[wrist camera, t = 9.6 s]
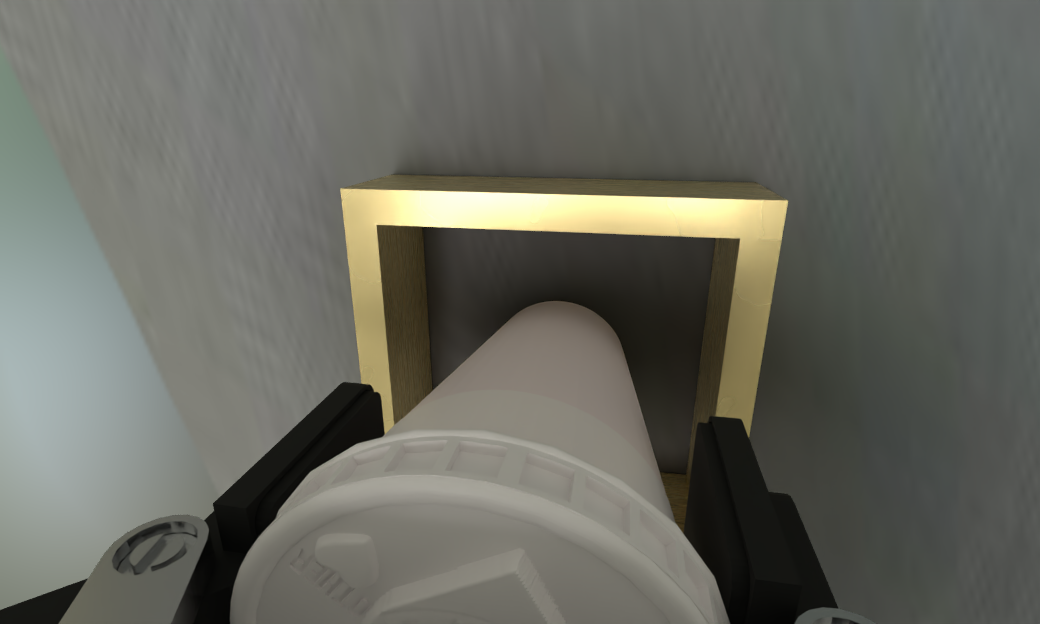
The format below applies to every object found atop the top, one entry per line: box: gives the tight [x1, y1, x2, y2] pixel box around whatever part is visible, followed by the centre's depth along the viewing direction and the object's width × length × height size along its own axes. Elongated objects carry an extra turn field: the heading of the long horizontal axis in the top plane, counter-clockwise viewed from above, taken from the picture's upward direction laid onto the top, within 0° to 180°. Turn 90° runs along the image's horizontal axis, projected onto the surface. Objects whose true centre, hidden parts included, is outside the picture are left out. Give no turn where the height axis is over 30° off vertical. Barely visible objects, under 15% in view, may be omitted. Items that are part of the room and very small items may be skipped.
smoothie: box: [230, 301, 730, 624], centre depth 9 cm, size 6×6×14 cm
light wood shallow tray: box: [340, 175, 788, 532], centre depth 15 cm, size 10×10×3 cm
